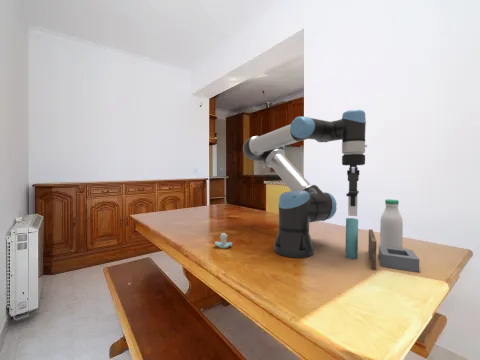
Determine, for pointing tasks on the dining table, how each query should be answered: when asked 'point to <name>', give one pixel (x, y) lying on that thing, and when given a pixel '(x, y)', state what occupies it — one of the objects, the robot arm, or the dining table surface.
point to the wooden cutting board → (372, 249)
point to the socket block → (398, 258)
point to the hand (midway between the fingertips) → (352, 212)
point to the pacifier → (223, 242)
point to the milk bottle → (391, 225)
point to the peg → (351, 238)
